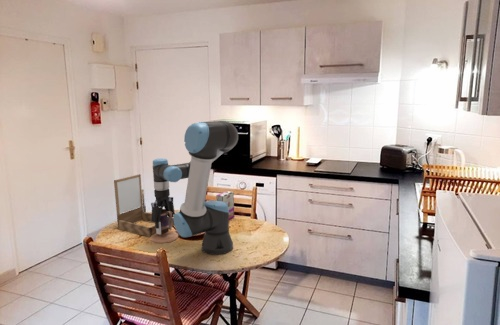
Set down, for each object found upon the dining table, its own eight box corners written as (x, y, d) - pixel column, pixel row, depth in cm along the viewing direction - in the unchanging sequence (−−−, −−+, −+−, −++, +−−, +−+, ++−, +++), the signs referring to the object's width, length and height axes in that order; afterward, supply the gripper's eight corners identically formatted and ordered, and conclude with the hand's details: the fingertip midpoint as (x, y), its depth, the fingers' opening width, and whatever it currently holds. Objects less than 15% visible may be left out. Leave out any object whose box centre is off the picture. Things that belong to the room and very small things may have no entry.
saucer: (183, 235, 187) (183, 233, 187) (164, 245, 175) (164, 243, 175) (164, 231, 194) (164, 229, 194) (145, 239, 182) (144, 237, 182)
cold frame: (174, 226, 201) (172, 194, 197) (150, 237, 186) (148, 202, 182) (142, 219, 214) (140, 189, 211) (117, 228, 199) (115, 196, 195)
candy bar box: (228, 216, 217) (227, 190, 214) (234, 217, 215) (234, 191, 212) (216, 221, 208) (215, 194, 205) (223, 223, 205) (222, 195, 203)
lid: (142, 206, 212) (140, 174, 208) (118, 215, 197) (115, 180, 193) (141, 206, 213) (139, 174, 209) (116, 215, 197) (113, 180, 194)
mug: (152, 233, 183) (150, 211, 181) (161, 228, 190) (159, 207, 187) (167, 236, 179) (166, 213, 177) (176, 231, 185) (175, 209, 183)
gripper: (170, 183, 190) (172, 224, 194) (141, 192, 173) (144, 236, 177) (180, 185, 186) (182, 226, 190) (152, 194, 170) (155, 239, 174)
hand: (164, 231), depth 184 cm, fingers closed on mug, 7 cm apart
